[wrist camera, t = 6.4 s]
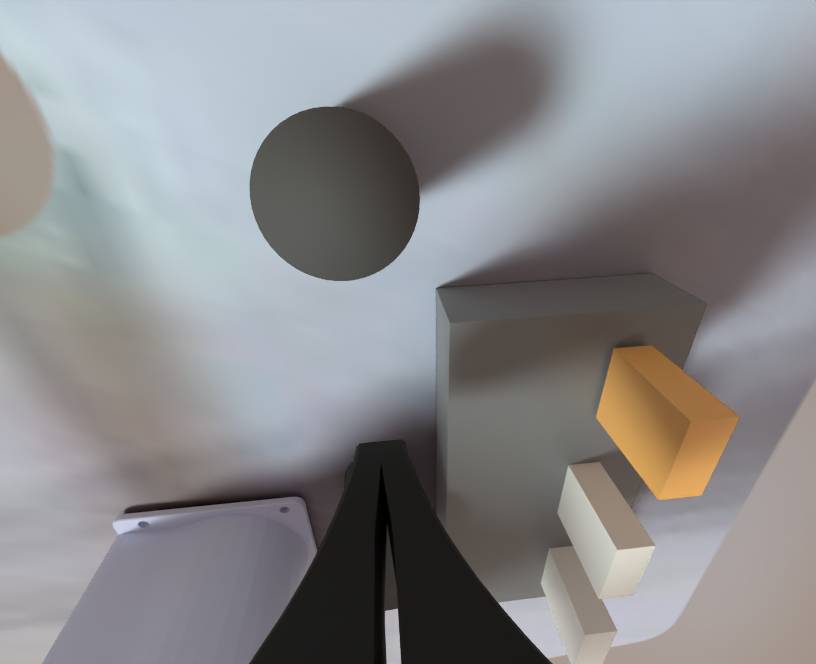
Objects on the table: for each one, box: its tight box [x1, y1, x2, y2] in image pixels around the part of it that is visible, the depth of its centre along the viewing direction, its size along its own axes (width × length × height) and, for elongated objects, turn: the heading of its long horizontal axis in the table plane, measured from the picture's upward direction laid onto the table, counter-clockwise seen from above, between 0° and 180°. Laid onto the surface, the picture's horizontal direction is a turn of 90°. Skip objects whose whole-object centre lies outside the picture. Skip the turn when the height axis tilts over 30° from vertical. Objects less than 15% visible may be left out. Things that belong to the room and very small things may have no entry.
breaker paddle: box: [596, 345, 740, 500], centre depth 13 cm, size 1×3×4 cm, turn 2°
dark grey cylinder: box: [250, 107, 420, 281], centre depth 11 cm, size 4×4×6 cm
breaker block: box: [436, 273, 707, 664], centre depth 17 cm, size 9×18×7 cm, turn 2°
